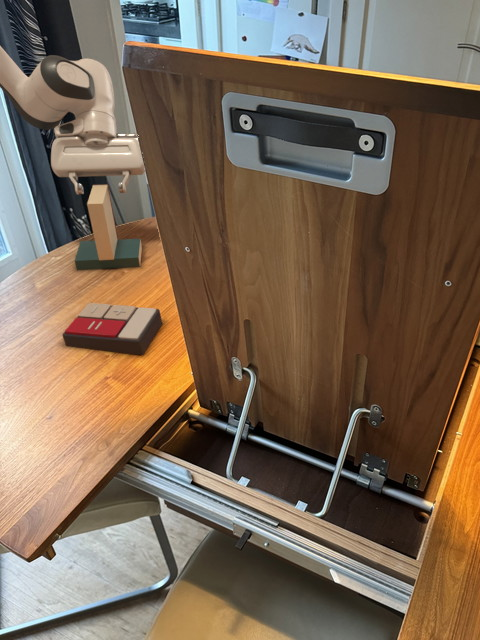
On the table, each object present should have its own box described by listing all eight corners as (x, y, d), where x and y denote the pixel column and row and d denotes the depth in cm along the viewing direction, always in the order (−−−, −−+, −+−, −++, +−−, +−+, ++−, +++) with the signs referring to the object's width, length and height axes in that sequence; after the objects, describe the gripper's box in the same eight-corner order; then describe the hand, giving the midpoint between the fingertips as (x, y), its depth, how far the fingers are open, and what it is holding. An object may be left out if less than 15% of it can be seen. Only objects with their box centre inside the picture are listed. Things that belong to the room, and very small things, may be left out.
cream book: (98, 260, 116) (86, 203, 108) (103, 238, 124) (92, 184, 116) (114, 259, 116) (103, 203, 108) (118, 238, 125) (108, 184, 117)
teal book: (77, 272, 118) (74, 260, 116) (83, 252, 125) (80, 241, 123) (140, 269, 120) (138, 257, 118) (142, 249, 127) (140, 238, 125)
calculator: (87, 300, 102) (159, 305, 100) (92, 318, 105) (163, 324, 102) (59, 331, 93) (138, 338, 91) (66, 350, 96) (142, 357, 94)
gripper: (145, 140, 123) (149, 197, 121) (55, 142, 120) (58, 200, 119) (141, 125, 116) (146, 184, 115) (46, 127, 113) (50, 187, 112)
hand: (101, 192), depth 117 cm, fingers open, 8 cm apart
